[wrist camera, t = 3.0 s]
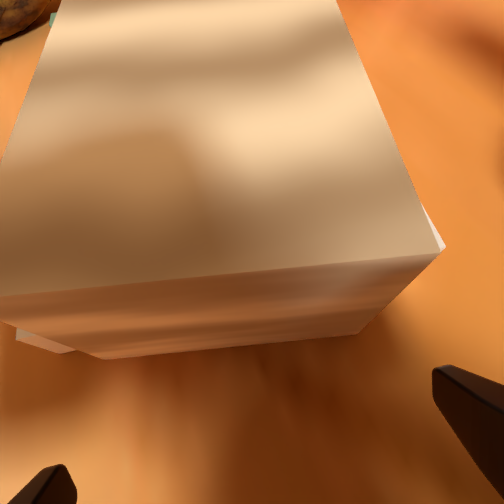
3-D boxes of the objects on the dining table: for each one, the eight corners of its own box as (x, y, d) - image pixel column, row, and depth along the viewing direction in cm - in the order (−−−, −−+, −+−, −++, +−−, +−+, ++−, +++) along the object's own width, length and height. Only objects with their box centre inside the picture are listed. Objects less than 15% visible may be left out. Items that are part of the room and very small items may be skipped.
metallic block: (356, 335, 15) (441, 252, 8) (105, 360, 15) (-53, 301, 8) (301, 110, 23) (318, -42, 15) (134, 127, 23) (68, -18, 15)
